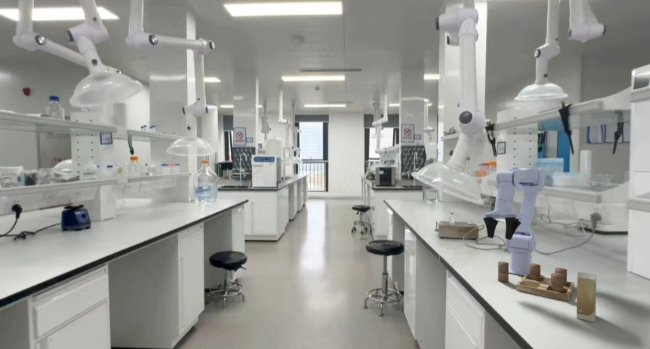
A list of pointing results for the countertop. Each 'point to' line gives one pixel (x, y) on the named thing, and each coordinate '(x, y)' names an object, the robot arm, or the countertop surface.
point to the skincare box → (586, 296)
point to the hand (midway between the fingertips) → (498, 238)
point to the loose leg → (503, 272)
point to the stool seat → (546, 283)
